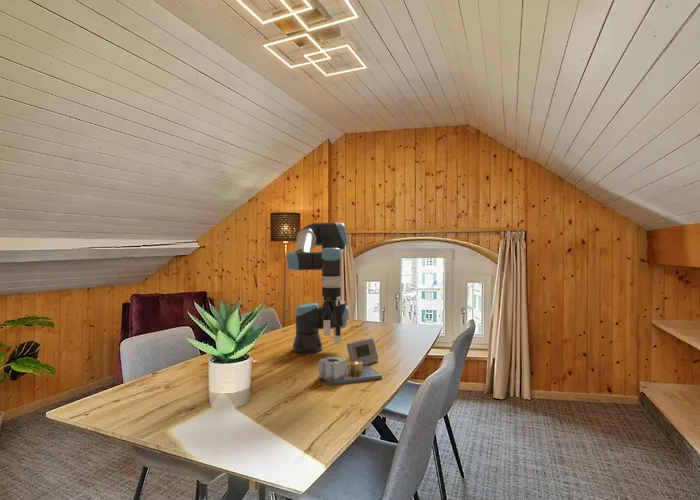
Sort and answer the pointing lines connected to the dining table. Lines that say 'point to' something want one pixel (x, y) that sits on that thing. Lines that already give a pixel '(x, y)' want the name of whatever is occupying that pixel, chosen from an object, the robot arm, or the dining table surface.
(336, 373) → the planet gear
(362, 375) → the carrier
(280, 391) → the dining table surface
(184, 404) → the dining table surface
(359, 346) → the digital clock
